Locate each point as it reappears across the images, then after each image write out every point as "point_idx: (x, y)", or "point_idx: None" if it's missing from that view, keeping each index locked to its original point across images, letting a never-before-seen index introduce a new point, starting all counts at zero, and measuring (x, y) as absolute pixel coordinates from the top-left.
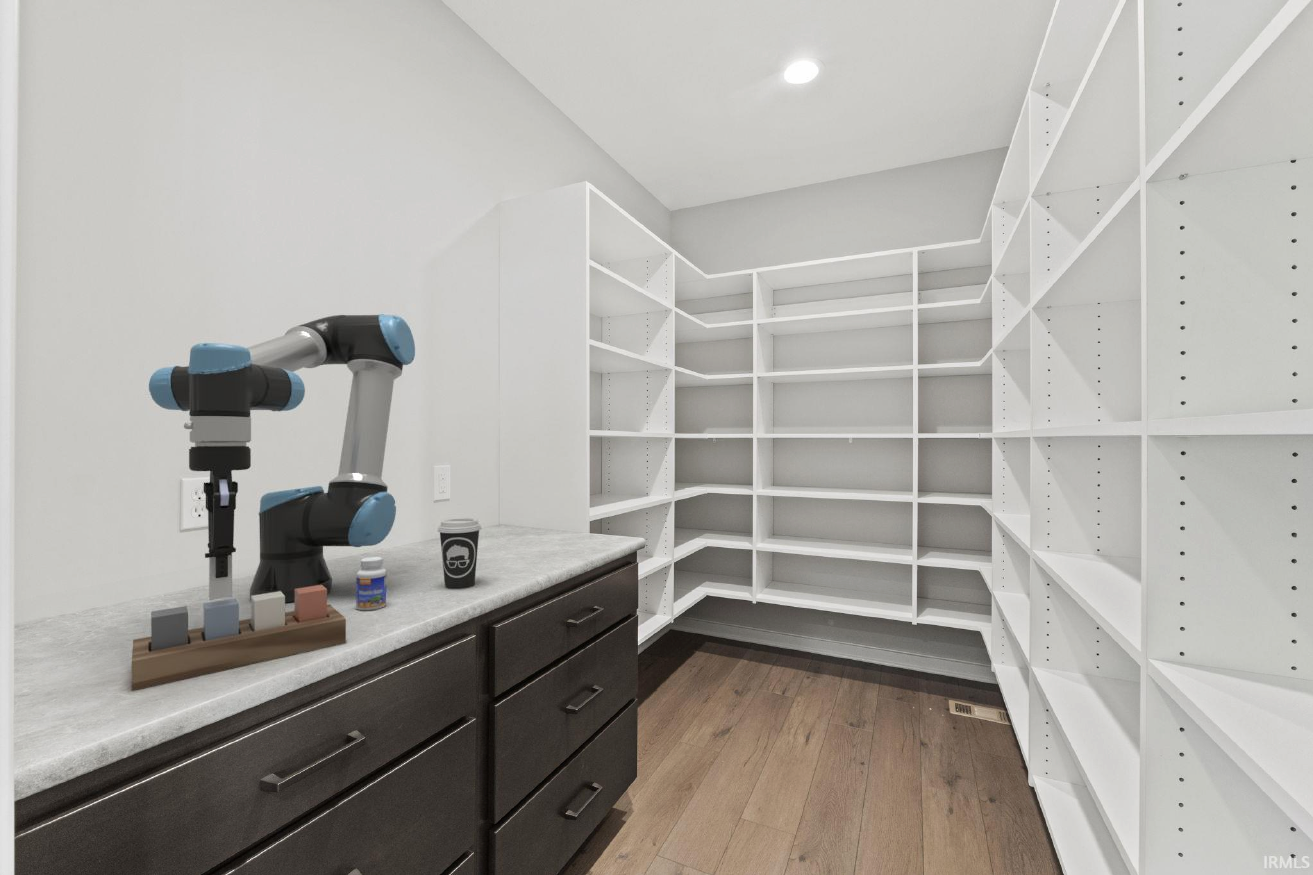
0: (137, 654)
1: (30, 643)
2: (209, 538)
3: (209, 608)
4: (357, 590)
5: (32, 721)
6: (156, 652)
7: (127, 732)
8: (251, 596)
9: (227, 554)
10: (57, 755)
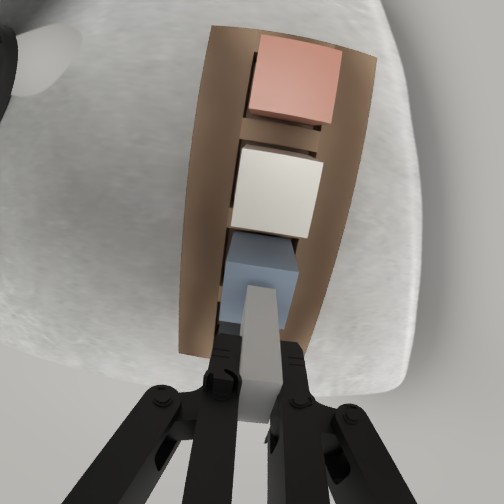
0: None
1: (33, 353)
2: (170, 458)
3: (285, 323)
4: None
5: None
6: None
7: (409, 348)
8: (238, 226)
9: (321, 405)
10: (399, 379)
